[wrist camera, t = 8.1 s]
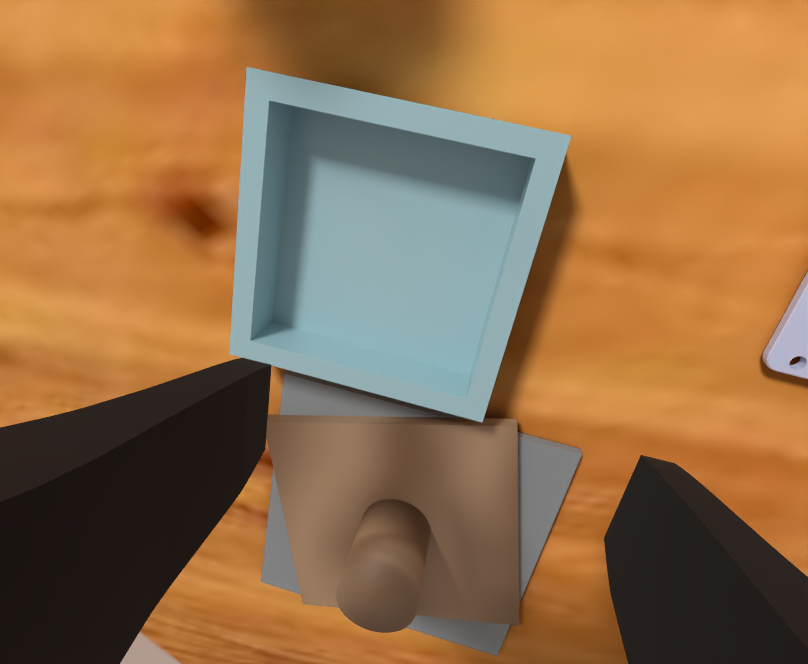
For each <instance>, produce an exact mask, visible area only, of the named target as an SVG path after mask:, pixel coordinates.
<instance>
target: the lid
mask: <svg viewBox="0 0 808 664" xmlns="http://www.w3.org/2000/svg"><path fill="white" fill-rule="evenodd" d="M266 437H267V441H268V446H269V451H270V455H271V460H272V464H273V469H274V473H275V478H276V483H277V487H278V492H279V496H280V501H281V505H282V510H283V515H284V519H285V524H286V528H287V533H288V537H289V542H290V546H291V551H292V556H293V560H294V565H295V569H296V574H297V578H298V583H299V588H300V592H301V597H302V601H303V604H307V605H317V606H328V607H338V608H340V609H341V611H342V612H343V613H344V615H345V616H346V617H347V618H348V619H350V620H351V621H352V622H354V623H355V624H357V625H358V626H360V627H363V628H365V629H368V630H371V631H375V632H383V633H388V632H396V631H399V630H402V629H404V628H406V627H407V626H408V625H410V624H411V623H412V621H413V620H414V618H415V615H418V616H428V617H438V618H448V619H458V620H468V621H478V622H488V623H498V624H508V625H518V626H519V546H518V430H517V419H501V418H484V419H483V422H478V421H475V420H471V419H467V418H443V417H385V416H327V415H268V418H267V431H266Z"/></svg>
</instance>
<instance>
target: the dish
mask: <svg viewBox="0 0 808 664" xmlns="http://www.w3.org/2000/svg"><path fill="white" fill-rule="evenodd" d="M570 139H571V136H570V135H566V134H561V133H556V132H552V131H547V130H542V129H537V128H533V127H528V126H523V125H519V124H514V123H509V122H504V121H500V120H495V119H490V118H486V117H481V116H476V115H471V114H467V113H462V112H457V111H453V110H448V109H443V108H438V107H434V106H429V105H424V104H420V103H415V102H410V101H405V100H401V99H396V98H391V97H387V96H382V95H377V94H372V93H368V92H363V91H358V90H354V89H349V88H344V87H339V86H335V85H330V84H325V83H321V82H316V81H311V80H306V79H302V78H297V77H292V76H288V75H283V74H278V73H273V72H269V71H264V70H259V69H255V68H250V67H247V71H246V88H245V104H244V121H243V138H242V154H241V171H240V188H239V204H238V221H237V237H236V254H235V271H234V287H233V304H232V320H231V337H230V354H231V355H235V356H238V357H242V358H246V359H250V360H254V361H258V362H262V363H267V364H271V365H272V366H275V367H279V368H283V369H286V370H290V371H294V372H297V373H301V374H305V375H309V376H312V377H316V378H320V379H323V380H327V381H331V382H334V383H338V384H342V385H345V386H349V387H353V388H357V389H360V390H364V391H368V392H371V393H375V394H379V395H382V396H386V397H390V398H393V399H397V400H401V401H405V402H408V403H412V404H416V405H419V406H423V407H427V408H430V409H434V410H438V411H442V412H445V413H449V414H453V415H456V416H460V417H464V418H467V419H471V420H475V421H478V422H483V419H484V416H485V413H486V410H487V406H488V403H489V400H490V397H491V393H492V390H493V387H494V384H495V381H496V377H497V374H498V371H499V368H500V364H501V361H502V358H503V355H504V352H505V348H506V345H507V342H508V339H509V336H510V332H511V329H512V326H513V323H514V319H515V316H516V313H517V310H518V307H519V303H520V300H521V297H522V294H523V290H524V287H525V284H526V281H527V278H528V274H529V271H530V268H531V265H532V262H533V258H534V255H535V252H536V249H537V245H538V242H539V239H540V236H541V233H542V229H543V226H544V223H545V220H546V217H547V213H548V210H549V207H550V204H551V200H552V197H553V194H554V191H555V188H556V184H557V181H558V178H559V175H560V171H561V168H562V165H563V162H564V159H565V155H566V152H567V149H568V146H569V143H570Z"/></svg>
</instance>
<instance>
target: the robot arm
mask: <svg viewBox="0 0 808 664" xmlns="http://www.w3.org/2000/svg"><path fill="white" fill-rule="evenodd" d="M797 356H801V357H800V361H799V362H798V363H796V364H794V365H789V364H790V361H791V360H792V359H793V358H794V357H797ZM762 359H763V362H764V363H765V364H766V366H768V367H769V368H770V369H772V370H774V371H777V372H781V373H785V374H789V375H793V376H797V377H801V378H805V379H808V272H807V274H806V275H805V277H804V279H803V281H802V283H801V285H800V286H799V288H798V290H797V292H796V294H795V295H794V297H793V299H792V301H791V303H790V305H789V306H788V308H787V310H786V312H785V314H784V316H783V317H782V319H781V321H780V323H779V325H778V327H777V328H776V330H775V332H774V334H773V336H772V338H771V339H770V341H769V343H768V345H767V347H766V348H765V350H764V352H763V356H762ZM270 377H271V364H267V363H262V362H258V361H254V360H250V359H246V358H239V359H235V360H231V361H228V362H224V363H221V364H218V365H215V366H212V367H209V368H206V369H203V370H200V371H197V372H194V373H192V374H189V375H186V376H183V377H180V378H177V379H174V380H171V381H168V382H165V383H162V384H159V385H156V386H153V387H150V388H147V389H144V390H141V391H138V392H135V393H131V394H128V395H125V396H121V397H118V398H115V399H111V400H108V401H105V402H101V403H98V404H95V405H92V406H88V407H85V408H81V409H77V410H74V411H70V412H66V413H62V414H58V415H54V416H50V417H46V418H41V419H37V420H33V421H28V422H24V423H19V424H15V425H10V426H6V427H1V428H0V664H120V662H121V661H122V659H123V658H124V656H125V654H126V653H127V651H128V649H129V648H130V646H131V644H132V643H133V641H134V640H135V638H136V637H137V635H138V633H139V632H140V630H141V629H142V627H143V625H144V624H145V622H146V620H147V619H148V617H149V616H150V614H151V613H152V611H153V610H154V608H155V607H156V605H157V604H158V603H159V601H160V600H161V598H162V597H163V595H164V594H165V593H166V591H167V590H168V588H169V587H170V586H171V584H172V583H173V582H174V580H175V579H176V578H177V576H178V575H179V574H180V572H181V571H182V570H183V568H184V567H185V566H186V565H187V563H188V562H189V561H190V559H191V558H192V557H193V555H194V554H195V553H196V551H197V550H198V549H199V547H200V546H201V545H202V543H203V542H204V541H205V539H206V538H207V537H208V535H209V534H210V533H211V531H212V530H213V529H214V528H215V526H216V525H217V524H218V522H219V521H220V520H221V518H222V517H223V516H224V514H225V513H226V511H227V510H228V509H229V507H230V506H231V505H232V503H233V502H234V501H235V499H236V498H237V497H238V495H239V494H240V492H241V491H242V489H243V488H244V486H245V484H246V483H247V481H248V479H249V477H250V476H251V474H252V472H253V470H254V469H255V467H256V465H257V463H258V461H259V459H260V458H261V456H262V454H263V452H264V450H265V445H266V431H267V418H268V404H269V391H270ZM604 542H605V552H606V562H607V571H608V578H609V586H610V592H611V597H612V601H613V605H614V609H615V613H616V617H617V621H618V625H619V629H620V633H621V637H622V641H623V645H624V649H625V653H626V656H627V660H628V664H808V577H807V576H806V575H805V574H804V573H802V572H801V571H800V570H799V569H798V568H796V567H795V566H794V565H793V564H792V563H791V562H789V561H788V560H787V559H786V558H785V557H784V556H782V555H781V554H780V553H779V552H778V551H777V550H776V549H774V548H773V547H772V546H771V545H770V544H769V543H768V542H766V541H765V540H764V539H763V538H762V537H761V536H760V535H758V534H757V533H756V532H755V531H754V530H753V529H752V528H751V527H749V526H748V525H747V524H746V523H745V522H744V521H743V520H742V519H740V518H739V517H738V516H737V515H736V514H735V513H734V512H733V511H731V510H730V509H729V508H728V507H727V506H726V505H725V504H724V503H722V502H721V501H720V500H719V499H718V498H717V497H716V496H715V495H713V494H712V493H711V492H710V491H709V490H708V489H706V488H705V487H704V486H703V485H702V484H701V483H700V482H698V481H697V480H696V479H695V478H694V477H692V476H691V475H690V474H689V473H687V472H686V471H685V470H683V469H682V468H681V467H679V466H678V465H677V464H675V463H671V462H667V461H663V460H659V459H655V458H651V457H647V456H643V455H641V456H640V459H639V461H638V463H637V465H636V467H635V470H634V472H633V474H632V476H631V479H630V481H629V483H628V485H627V488H626V490H625V492H624V494H623V497H622V499H621V501H620V503H619V506H618V508H617V510H616V512H615V515H614V517H613V519H612V521H611V524H610V526H609V528H608V530H607V533H606V535H605V537H604Z"/></svg>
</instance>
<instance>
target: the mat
mask: <svg viewBox="0 0 808 664" xmlns="http://www.w3.org/2000/svg"><path fill="white" fill-rule="evenodd" d="M280 415H327V416H385V417H443V418H464V417H460V416H456V415H453V414H449V413H445V412H442V411H438V410H434V409H430V408H427V407H423V406H419V405H416V404H412V403H408V402H405V401H401V400H397V399H393V398H390V397H386V396H382V395H379V394H375V393H371V392H368V391H364V390H360V389H357V388H353V387H349V386H345V385H342V384H338V383H334V382H331V381H327V380H323V379H320V378H316V377H312V376H309V375H305V374H301V373H297V372H294V371H290V370H287V371H286V372H285V373H284V379H283V388H282V397H281V406H280ZM581 456H582V453H581V449H579V448H575V447H572V446H568V445H564V444H561V443H557V442H553V441H549V440H546V439H542V438H538V437H535V436H531V435H527V434H524V433H520V432H518V546H519V603H520V601H521V598H522V596H523V594H524V591H525V589H526V586H527V584H528V582H529V579H530V577H531V574H532V572H533V570H534V567H535V565H536V563H537V560H538V558H539V555H540V553H541V551H542V548H543V546H544V544H545V541H546V539H547V536H548V534H549V532H550V529H551V527H552V525H553V522H554V520H555V517H556V515H557V513H558V510H559V508H560V506H561V503H562V501H563V498H564V496H565V494H566V491H567V489H568V487H569V484H570V482H571V479H572V477H573V475H574V472H575V470H576V468H577V465H578V463H579V460H580V458H581ZM261 582H263V583H266V584H269V585H272V586H276V587H279V588H282V589H285V590H288V591H292V592H295V593H298V594H301V592H300V588H299V583H298V578H297V574H296V569H295V565H294V560H293V556H292V551H291V546H290V542H289V537H288V533H287V528H286V524H285V519H284V515H283V510H282V505H281V501H280V496H279V492H278V487H277V483H276V478H275V473H274V469H273V477H272V486H271V495H270V504H269V513H268V522H267V531H266V540H265V549H264V558H263V567H262V575H261ZM509 627H510V625H508V624H498V623H488V622H478V621H468V620H458V619H448V618H438V617H428V616H418V615H415V618H414V620H413V621H412V623H411V624H410V625H408V626H407V627H406V628H409V629H412V630H416V631H419V632H422V633H425V634H428V635H431V636H435V637H438V638H441V639H444V640H447V641H450V642H454V643H457V644H460V645H463V646H466V647H470V648H473V649H476V650H479V651H482V652H485V653H489V654H492V655H495V656H497V655H498V653H499V651H500V648H501V646H502V643H503V641H504V639H505V636H506V634H507V632H508V629H509Z"/></svg>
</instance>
